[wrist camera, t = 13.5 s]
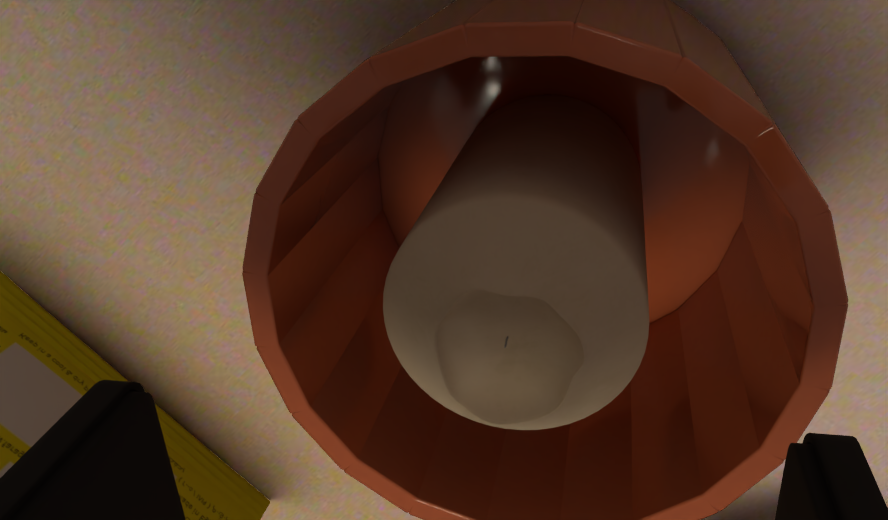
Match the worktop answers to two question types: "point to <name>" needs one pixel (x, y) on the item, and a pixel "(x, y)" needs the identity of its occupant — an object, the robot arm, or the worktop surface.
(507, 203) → the candle
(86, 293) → the worktop surface
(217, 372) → the worktop surface
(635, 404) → the pot cup
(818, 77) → the worktop surface
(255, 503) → the food package
